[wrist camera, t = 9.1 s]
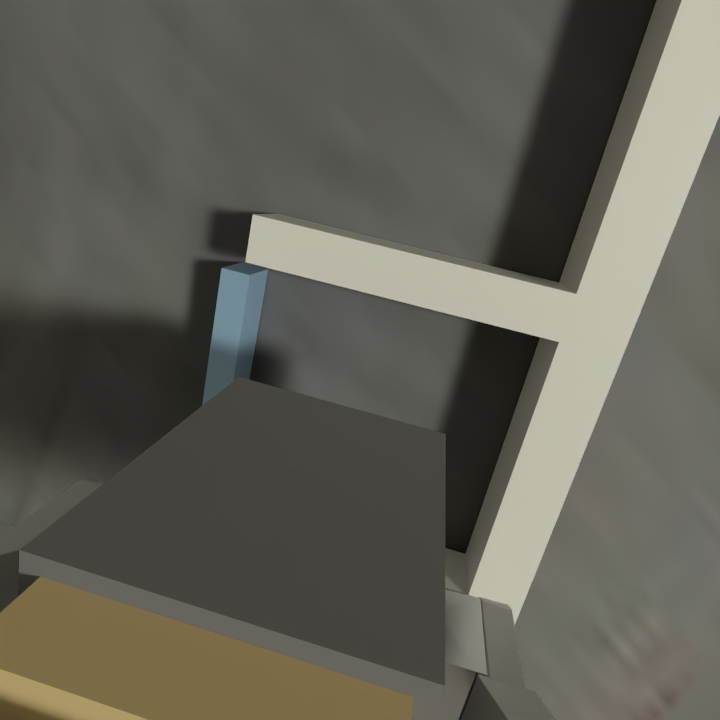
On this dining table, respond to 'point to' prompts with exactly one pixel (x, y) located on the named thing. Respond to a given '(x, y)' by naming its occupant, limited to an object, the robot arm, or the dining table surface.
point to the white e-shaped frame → (526, 293)
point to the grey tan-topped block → (242, 575)
